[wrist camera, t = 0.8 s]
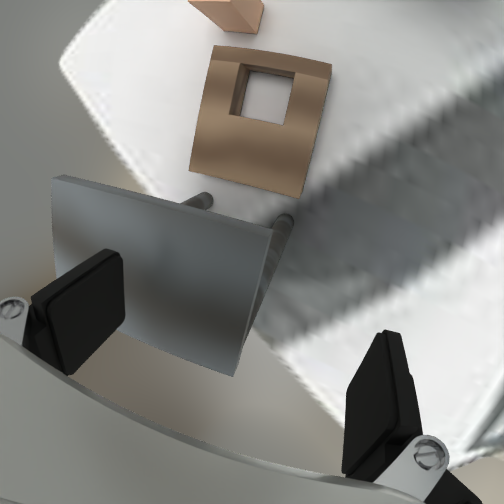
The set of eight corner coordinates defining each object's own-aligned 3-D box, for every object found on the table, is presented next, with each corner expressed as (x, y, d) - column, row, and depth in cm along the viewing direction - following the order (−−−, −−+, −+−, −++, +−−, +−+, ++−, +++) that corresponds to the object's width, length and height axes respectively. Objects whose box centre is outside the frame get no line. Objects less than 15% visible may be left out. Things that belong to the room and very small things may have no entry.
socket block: (226, 53, 30) (89, -23, 9) (331, 72, 28) (332, -35, 7) (195, 209, 38) (59, 300, 17) (290, 236, 36) (232, 376, 15)
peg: (231, 3, 27) (198, -32, 18) (264, 5, 26) (240, -33, 17) (223, 30, 29) (187, 1, 19) (257, 34, 28) (230, 1, 19)
